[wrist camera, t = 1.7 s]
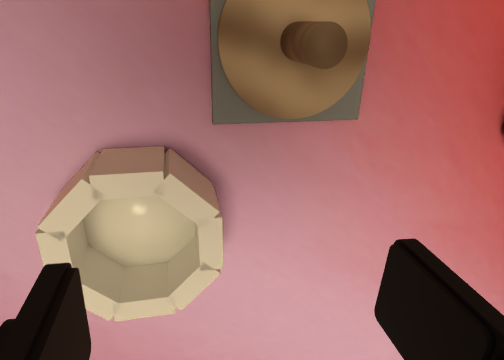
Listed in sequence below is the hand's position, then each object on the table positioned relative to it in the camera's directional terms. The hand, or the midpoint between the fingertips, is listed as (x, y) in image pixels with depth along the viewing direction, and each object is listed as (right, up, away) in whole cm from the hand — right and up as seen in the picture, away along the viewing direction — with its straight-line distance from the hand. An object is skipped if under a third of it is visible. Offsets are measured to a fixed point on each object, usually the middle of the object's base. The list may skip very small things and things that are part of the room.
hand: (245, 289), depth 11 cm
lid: (+4, +15, +19) cm, 25 cm away
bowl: (-10, 0, +23) cm, 26 cm away
